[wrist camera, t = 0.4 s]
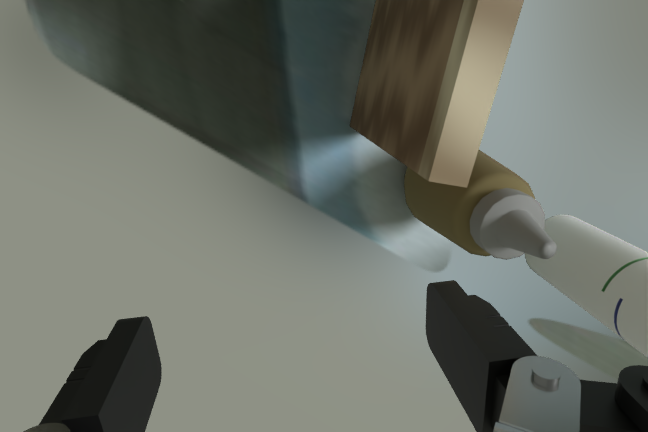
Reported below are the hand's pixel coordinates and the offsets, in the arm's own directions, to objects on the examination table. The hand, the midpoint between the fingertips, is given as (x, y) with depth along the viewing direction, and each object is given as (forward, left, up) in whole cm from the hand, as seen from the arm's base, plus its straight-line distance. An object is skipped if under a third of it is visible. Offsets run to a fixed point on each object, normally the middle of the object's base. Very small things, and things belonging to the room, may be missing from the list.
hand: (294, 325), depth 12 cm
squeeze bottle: (0, +16, -28) cm, 32 cm away
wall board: (-12, +10, -28) cm, 32 cm away
